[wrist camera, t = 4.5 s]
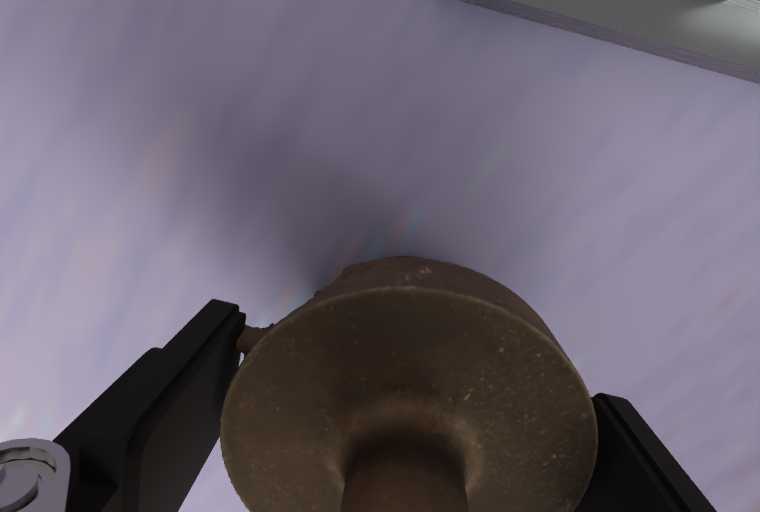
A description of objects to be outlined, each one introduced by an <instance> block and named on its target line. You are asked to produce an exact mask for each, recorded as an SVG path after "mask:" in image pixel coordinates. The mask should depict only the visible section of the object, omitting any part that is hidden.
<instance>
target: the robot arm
mask: <svg viewBox="0 0 760 512" xmlns="http://www.w3.org/2000/svg"><path fill="white" fill-rule="evenodd" d="M245 321H246V314H245V313H242V312H239V306H238V305H237V304H233V303H229V302H224V301H220V300H216V299H212V300H211V301H209V302H208V303H207V304H206V305H205V306H204V307H203V308H202V309H201V310H200V311H199V312H198V313H197V314H196V315H195V316H194V317H193V318H192V319H191V320H190V321H189V322H188V323H187V324H186V325H185V326H184V327H183V328H182V329H181V330H180V331H179V332H178V333H177V334H176V335H175V336H174V337H173V338H172V339H171V340H170V341H169V342H168V343H167V344H166V345H165V346H164V347H163V348H162V349H161V348H157V347H155V348H151V349H150V350H148V351H147V352H146V353H145V354H144V355H142V356H141V357H140V358H139V359H138V360H137V361H136V362H135V363H134V364H133V365H132V366H131V367H130V368H129V369H128V370H127V371H126V372H125V373H123V374H122V375H121V376H120V377H119V378H118V379H117V380H116V381H115V382H114V383H113V384H112V385H111V386H110V387H109V388H108V389H107V390H105V391H104V392H103V393H102V394H101V395H100V396H99V397H98V398H97V399H96V400H95V401H94V402H93V403H92V404H91V405H90V406H89V407H88V408H86V409H85V410H84V411H83V412H82V413H81V414H80V415H79V416H78V417H77V418H76V419H75V420H74V421H73V422H72V423H71V424H70V425H69V426H67V427H66V428H65V429H64V430H63V431H62V432H61V433H60V434H59V435H58V436H57V437H56V438H55V439H54V440H53V441H50V440H43V439H36V438H28V439H15V440H10V441H6V442H2V443H0V512H178V511H179V509H180V507H181V505H182V503H183V502H184V500H185V498H186V496H187V494H188V493H189V491H190V489H191V487H192V485H193V484H194V482H195V480H196V478H197V476H198V474H199V473H200V471H201V469H202V467H203V465H204V464H205V462H206V460H207V458H208V456H209V455H210V453H211V451H212V449H213V447H214V446H215V444H216V442H217V440H218V438H219V437H220V425H221V421H220V418H221V415H222V408H223V404H224V400H225V396H226V391H227V389H228V387H229V386H230V383H231V381H232V379H233V376H234V375H235V373H236V372H237V370H238V367H239V361H240V354H241V352H240V351H239V350H238V349H237V348H236V345H237V340H238V338H239V337H240V335H241V334H242V332H243V331H244V328H245ZM590 398H591V401H592V403H593V407H594V410H595V415H596V420H597V427H598V449H597V457H596V462H595V468H594V470H593V474H592V477H591V480H590V482H589V485H588V487H587V490H586V492H585V494H584V495H583V497H582V499H581V501H580V503H579V504H578V506H577V507H576V508H575V511H574V512H717V511H716V510H715V509H714V508H713V506H712V505H711V504H710V502H709V501H708V500H707V499H706V497H705V496H704V495H703V494H702V492H701V491H700V490H699V489H698V487H697V486H696V485H695V484H694V482H693V481H692V480H691V479H690V477H689V476H688V475H687V474H686V472H685V471H684V470H683V469H682V467H681V466H680V465H679V464H678V462H677V461H676V460H675V458H674V457H673V456H672V455H671V453H670V452H669V451H668V450H667V448H666V447H665V446H664V445H663V443H662V442H661V441H660V440H659V438H658V437H657V436H656V435H655V433H654V432H653V431H652V430H651V428H650V427H649V426H648V425H647V423H646V422H645V421H644V419H643V418H642V417H641V416H640V414H639V413H638V412H637V411H636V409H635V408H634V407H633V406H632V404H631V403H630V402H629V401H628V400H627V399H624V398H621V397H616V396H612V395H608V394H604V393H597V394H596V395H595V396H594V397H590Z"/></svg>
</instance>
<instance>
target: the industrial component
mask: <svg viewBox="0 0 760 512" xmlns="http://www.w3.org/2000/svg"><path fill="white" fill-rule="evenodd" d="M236 348H237V349H238V350H239V351H240V352H242V353H243V354H244V359H243V361H242V363H241V365H240V366H239V368H238V370H237V372H236V373H235V375H234V376H233V379H232V381H231V383H230V386H229V387H228V389H227V391H226V396H225V400H224V404H223V408H222V415H221V418H220V421H221V425H220V443H221V450H222V457H223V460H224V464H225V468H226V470H227V472H228V476H229V478H230V480H231V483H232V484H233V487H234V488H235V491H236V493H237V494H238V495H239V496H240V499H241V501H242V502H243V503H244V505H245V507H247V509H248V510H249V511H250V512H574V511H575V508H576V507H577V506H578V504H579V503H580V501H581V499H582V497H583V495H584V494H585V492H586V490H587V487H588V485H589V482H590V480H591V477H592V474H593V470H594V468H595V462H596V457H597V449H598V427H597V420H596V415H595V410H594V407H593V403H592V401H591V398H590V395H589V392H588V390H587V388H586V386H585V384H584V382H583V380H582V378H581V376H580V375H579V373H578V371H577V370H576V368H575V367H574V365H573V364H572V362H571V361H570V359H569V358H568V356H567V355H566V354H565V352H564V351H563V349H562V347H561V346H560V345H559V343H558V342H557V340H556V339H555V337H554V336H553V334H552V333H551V331H550V330H549V328H548V327H547V325H546V324H545V323H544V322H543V320H542V319H541V318H540V316H539V315H538V314H537V313H536V312H535V311H534V310H533V309H532V308H531V307H530V306H529V305H528V304H527V303H526V302H525V301H524V300H523V299H521V298H520V297H519V296H518V295H516V294H515V293H513V292H512V291H511V290H510V289H508V288H507V287H505V286H504V285H502V284H500V283H498V282H497V281H495V280H493V279H491V278H489V277H488V276H485V275H484V274H481V273H478V272H476V271H473V270H472V269H469V268H466V267H462V266H459V265H455V264H451V263H447V262H442V261H437V260H430V259H423V258H418V257H411V256H396V257H388V258H384V259H379V260H371V261H368V262H362V263H359V264H354V265H351V266H348V267H346V268H345V269H344V271H343V273H342V274H341V276H340V277H339V278H338V279H337V280H336V281H335V282H333V283H332V284H331V285H330V286H329V287H326V289H325V290H323V291H322V292H319V291H316V293H315V295H314V297H313V298H312V299H310V300H308V301H307V302H306V303H305V304H303V305H302V306H300V307H299V308H297V309H295V310H294V311H292V312H291V313H290V314H289V315H287V316H286V317H285V318H283V319H281V320H280V321H279V322H278V323H277V324H275V325H274V324H273V323H272V324H271V325H270V326H269V327H267V328H261V329H260V328H259V327H255V328H253V327H250V326H247V325H245V328H244V331H243V332H242V334H241V335H240V337H239V338H238V340H237V345H236Z"/></svg>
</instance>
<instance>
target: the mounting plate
mask: <svg viewBox="0 0 760 512" xmlns="http://www.w3.org/2000/svg"><path fill="white" fill-rule="evenodd" d="M460 1H464V2H467V3H471V4H475V5H478V6H482V7H485V8H489V9H493V10H496V11H500V12H503V13H507V14H511V15H514V16H518V17H521V18H525V19H529V20H532V21H536V22H539V23H543V24H547V25H550V26H554V27H558V28H561V29H565V30H568V31H572V32H576V33H579V34H583V35H586V36H590V37H594V38H597V39H601V40H604V41H608V42H612V43H615V44H619V45H622V46H626V47H630V48H633V49H637V50H640V51H644V52H648V53H651V54H655V55H658V56H662V57H666V58H669V59H673V60H676V61H680V62H684V63H687V64H691V65H694V66H698V67H702V68H705V69H709V70H712V71H716V72H720V73H723V74H727V75H730V76H734V77H738V78H741V79H745V80H748V81H752V82H756V83H759V84H760V0H460Z"/></svg>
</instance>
